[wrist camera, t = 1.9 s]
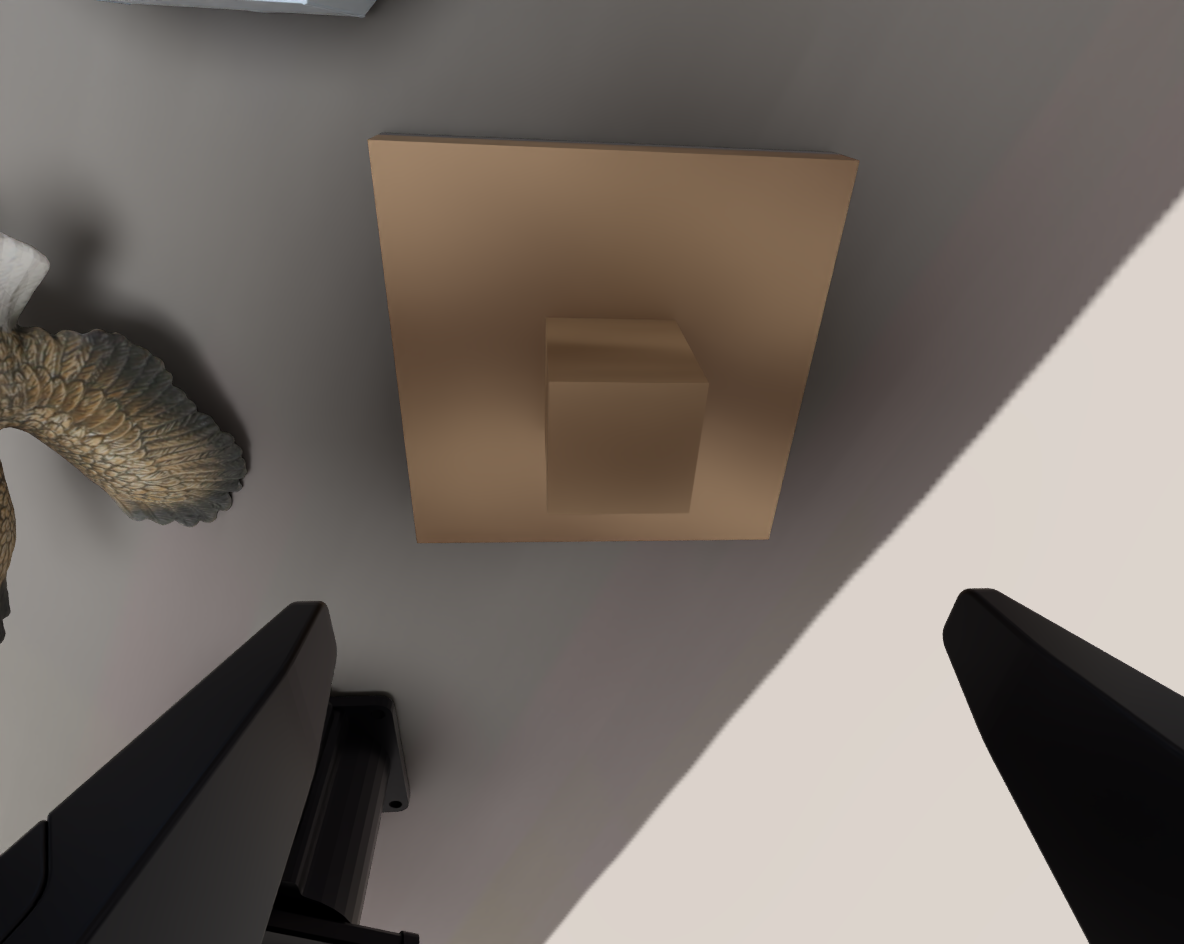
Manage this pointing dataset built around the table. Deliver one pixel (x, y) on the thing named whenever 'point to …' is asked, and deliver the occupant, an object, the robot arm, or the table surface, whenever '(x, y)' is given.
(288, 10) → the bowl
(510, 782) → the table surface
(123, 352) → the eagle figurine
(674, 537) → the lid
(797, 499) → the table surface
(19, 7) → the table surface
